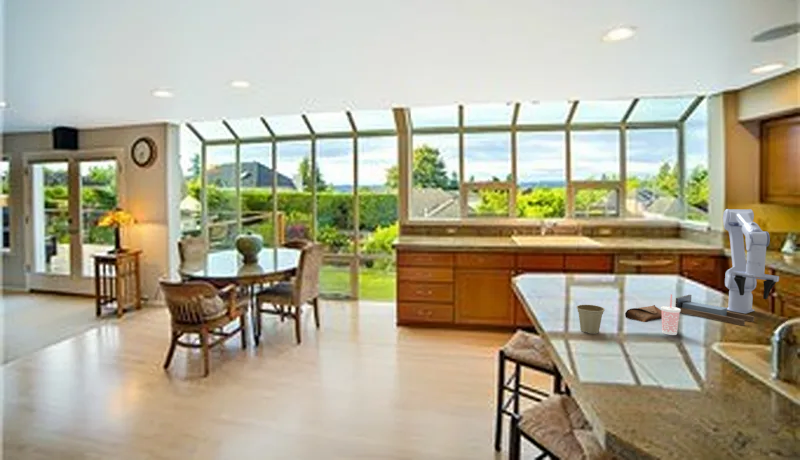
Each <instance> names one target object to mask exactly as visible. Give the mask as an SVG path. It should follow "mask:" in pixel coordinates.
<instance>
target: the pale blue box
mask: <svg viewBox="0 0 800 460" xmlns="http://www.w3.org/2000/svg"><path fill="white" fill-rule="evenodd" d="M682 308H686V309H691V310H697V311H702V312H707V313H712V314H717V315H722V316H727V311H728V310H727V308H728V307H722V306H718V305H712V304H707V303H702V302H695V301H691V302H690V301H688V302H685V303H683V306H682Z"/></svg>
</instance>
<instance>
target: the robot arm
mask: <svg viewBox="0 0 800 460" xmlns="http://www.w3.org/2000/svg"><path fill="white" fill-rule="evenodd" d="M754 217H755V214H754V211H753V210H752V208H749V209H739V208H738V209H733V208H732V209H729V208H726V209H725V210H724V211H723V214H722V222H723V227H724V228H723V229H724V230H726V231H727V232H728V235H729V242H730V254H731V264H732V267H730V268H729V269H727V270H726V271H725V276H724V277H725V278H724V286H725V287H726V288H727V289H728V290H729V291H728V305H727V306H728V307H726V308H727V311H728V312H733V313H739V314H744V315H748V314H749V313H752V312H755V309H754V308H753V296H754V295H753V293H752V292H753V291H754V290H755V289H756V288H757V284H758V283H757V280H762V281H763V283H762V284H763V296H762V299H763V300H767V299H769V298H768V297H769V295H770V293H771V291H772V289H773V287H775V285H776V283H778V282H779V281H780V276H779V275H775V274H774V275H772V274H766V273H765V271H766V270H765V268H766V257H767V247H769V246H770V242H771V241H770V240H771V239H770V238H771V237H770V236H771V235H770V234H769V232H768V231H763V230H762V229H761V227H760V225H759V224H758V223H756V222H755V221H754ZM744 237H745V239H744ZM744 241H745V242H744ZM745 250H746V252H747V253H746V252H745Z"/></svg>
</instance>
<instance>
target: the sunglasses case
mask: <svg viewBox="0 0 800 460" xmlns="http://www.w3.org/2000/svg"><path fill="white" fill-rule="evenodd" d="M624 316H625V318H627V319H631V320H634V321H638V322H643V323H646V322H649V321H655V320H662V310H661V308H659V307H657V306H656V305H655V304H654V305H650V306H641V307H635V308H629V309H627V310H626V311H625V315H624Z"/></svg>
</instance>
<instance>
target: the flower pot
mask: <svg viewBox="0 0 800 460" xmlns="http://www.w3.org/2000/svg"><path fill="white" fill-rule="evenodd" d="M575 308H576V309H577V312H578V318H579V319H578V320H579V327H580V331H581V332H582V333H588V334H598V333H599V332H600V329H601V324H602V318H603V314H604V313H605V310H606V309H605V308H604V307H602V306H599V305H596V304H595V305H594V304H578V305H576V307H575Z"/></svg>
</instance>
